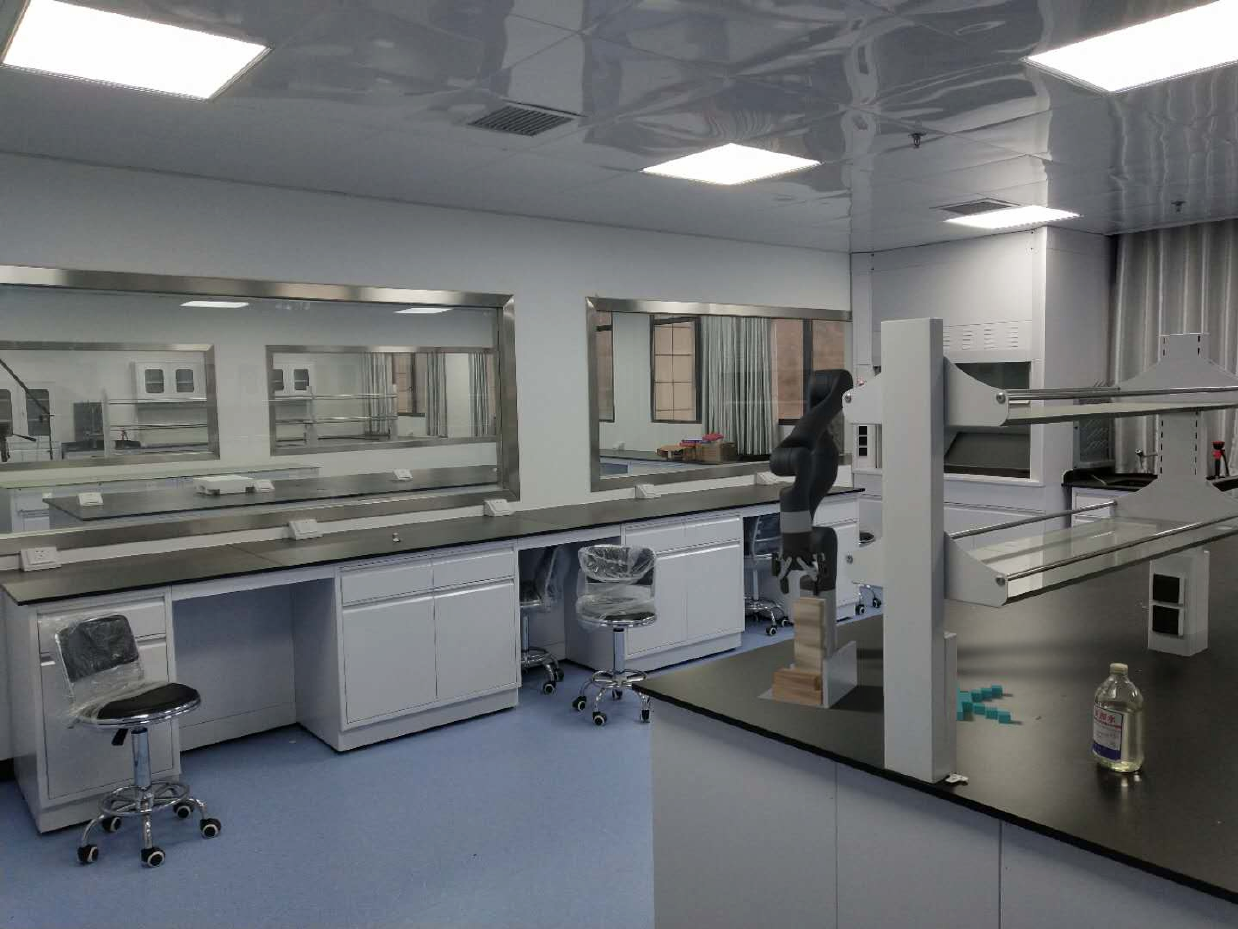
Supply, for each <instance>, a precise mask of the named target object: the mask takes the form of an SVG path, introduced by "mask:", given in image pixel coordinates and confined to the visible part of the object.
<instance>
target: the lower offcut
mask: <svg viewBox="0 0 1238 929" xmlns="http://www.w3.org/2000/svg"><path fill="white" fill-rule="evenodd" d="M771 688H772V696H774V697H780V698H786V699H793V700H799V701H805V702H812V703H818V704H821V703H822V702H823V685H821V686H820V687H818V688H817V689H815V690H814V691H813V690H806V689H799V688H793V687H786V686H779V685H775V682H774V683H772V684H771Z"/></svg>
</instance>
